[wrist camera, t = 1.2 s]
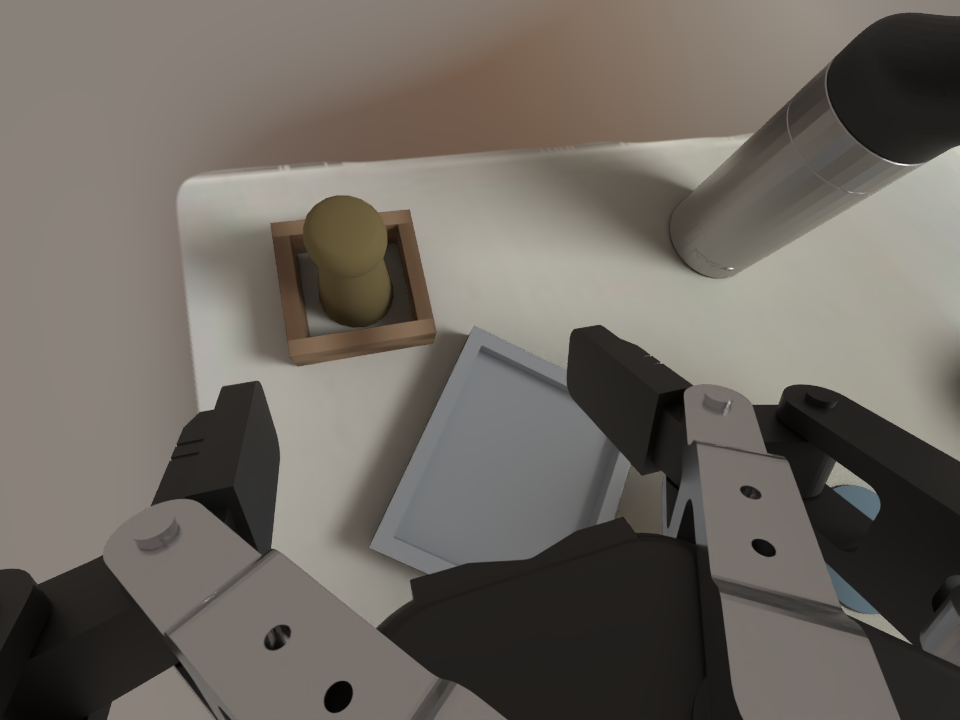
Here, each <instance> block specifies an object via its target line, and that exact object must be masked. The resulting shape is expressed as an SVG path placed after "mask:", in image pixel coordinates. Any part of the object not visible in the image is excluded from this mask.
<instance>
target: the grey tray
mask: <svg viewBox="0 0 960 720" xmlns="http://www.w3.org/2000/svg"><path fill="white" fill-rule="evenodd" d="M566 379H567V371H566V370H564V369H562V368H560V367H558V366H556V365H554V364H552V363H550V362H548V361H546V360H544V359H542V358H540V357H537V356H535V355H533V354H531V353H529V352H527V351H525V350H523V349H521V348H519V347H517V346H515V345H513V344H511V343H509V342H507V341H505V340H503V339H500V338H498V337H496V336H494V335H492V334H490V333H488V332H486V331H484V330H482V329H480V328H478V327H476V326H474V327H473V329H472V331H471V333H470V334H469V336H468V339H467V341H466V343H465V345H464V347H463V349H462V351H461V353H460V355H459V358H458V360H457V362H456V364H455V366H454V368H453V370H452V372H451V374H450V377H449V379H448V381H447V383H446V385H445V387H444V389H443V391H442V393H441V396H440V398H439V400H438V402H437V404H436V406H435V408H434V410H433V412H432V415H431V417H430V419H429V421H428V423H427V425H426V427H425V429H424V431H423V434H422V436H421V438H420V440H419V442H418V444H417V446H416V448H415V450H414V453H413V455H412V457H411V459H410V461H409V463H408V465H407V467H406V469H405V472H404V474H403V476H402V478H401V480H400V482H399V484H398V486H397V488H396V491H395V493H394V495H393V497H392V499H391V501H390V503H389V505H388V507H387V510H386V512H385V514H384V516H383V518H382V520H381V522H380V524H379V526H378V529H377V531H376V533H375V535H374V537H373V539H372V541H371V544H370V547H369V548H371V549H373V550H375V551H377V552H380V553H382V554H384V555H386V556H389V557H391V558H393V559H395V560H398V561H400V562H402V563H404V564H407V565H409V566H411V567H414V568H416V569H418V570H420V571H423V572H425V573H427V574H432V573H436V572H439V571H442V570H446V569H449V568H452V567H456V566H459V565H463V564H466V563H475V562H492V561H510V560H525V559H530V558H532V557H534V556H536V555H538V554H539V553H541V552H543V551H544V550H546V549H547V548H549V547H551V546H552V545H554V544H556V543H557V542H559V541H560V540H562V539H564V538H565V537H567V536H568V535H570V534H572V533H573V532H575V531H577V530H581V529H584V528H587V527H591V526H594V525H597V524H601V523H604V522H608V521H611V520H614V517H615V514H616V511H617V508H618V505H619V501H620V498H621V495H622V492H623V489H624V485H625V482H626V479H627V476H628V473H629V469H630V466H631V463H630V462H629V461H628V460H627V459H626V458H625V456H624V455H623V454H622V453H621V452H620V451H619V450H618V449H617V448H616V446H615V445H614V444H613V443H612V442H611V441H610V440H609V439H608V438H607V437H606V435H605V434H604V433H603V432H602V431H601V430H600V429H599V428H598V427H597V426H596V424H595V423H594V422H593V421H592V420H591V419H590V418H589V417H588V416H587V415H586V413H585V412H584V411H583V410H582V409H581V408H580V407H579V406H578V405H577V404H576V402H575V401H574V400H573V399H572V397H571V396H570V394H569V391H568V387H567V380H566Z"/></svg>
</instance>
